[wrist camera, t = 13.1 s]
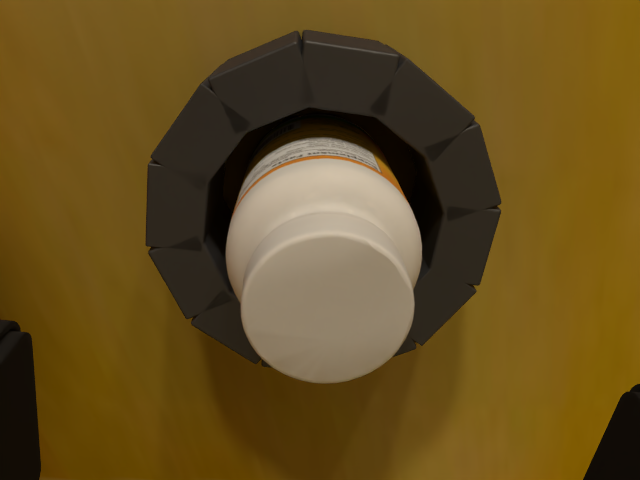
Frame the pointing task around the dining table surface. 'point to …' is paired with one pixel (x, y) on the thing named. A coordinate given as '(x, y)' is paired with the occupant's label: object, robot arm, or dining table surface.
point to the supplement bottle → (323, 251)
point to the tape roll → (334, 95)
